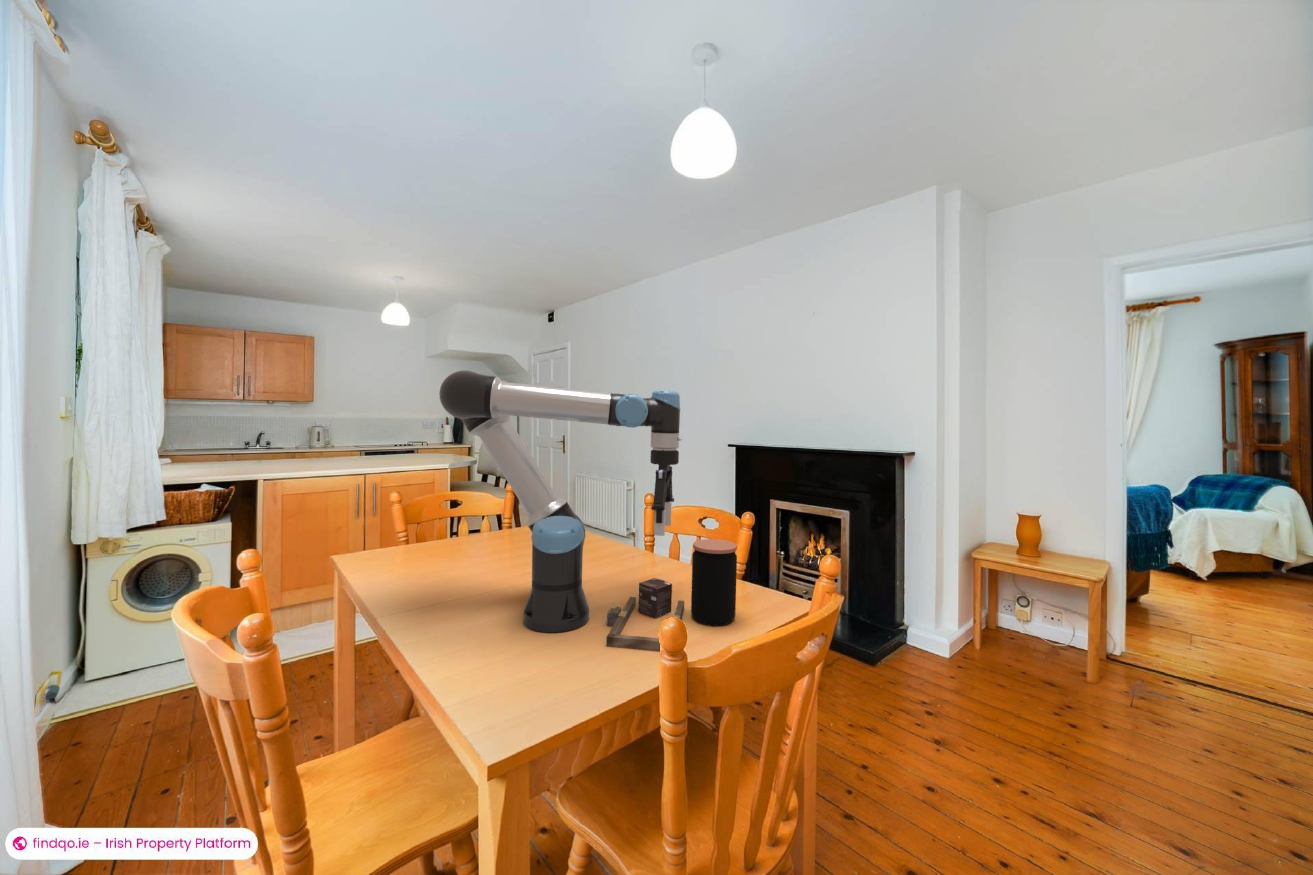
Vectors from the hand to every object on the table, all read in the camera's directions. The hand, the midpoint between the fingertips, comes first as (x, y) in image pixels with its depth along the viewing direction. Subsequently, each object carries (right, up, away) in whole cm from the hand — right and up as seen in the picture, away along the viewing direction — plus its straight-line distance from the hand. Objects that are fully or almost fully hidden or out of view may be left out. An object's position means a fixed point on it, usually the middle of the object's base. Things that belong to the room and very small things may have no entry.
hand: (662, 530), depth 133 cm
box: (-2, -19, -10) cm, 21 cm away
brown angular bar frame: (-5, -19, -18) cm, 26 cm away
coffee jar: (+12, -19, -13) cm, 26 cm away
